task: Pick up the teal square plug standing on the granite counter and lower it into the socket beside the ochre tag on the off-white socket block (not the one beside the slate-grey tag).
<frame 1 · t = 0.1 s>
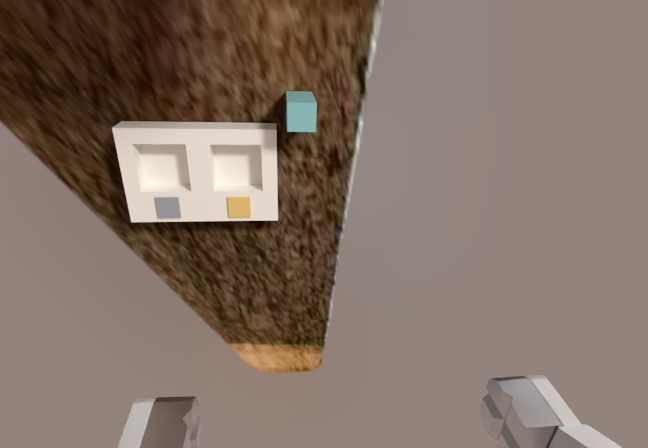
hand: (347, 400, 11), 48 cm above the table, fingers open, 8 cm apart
plug: (298, 104, 54), on the table
socket block: (205, 168, 57), on the table
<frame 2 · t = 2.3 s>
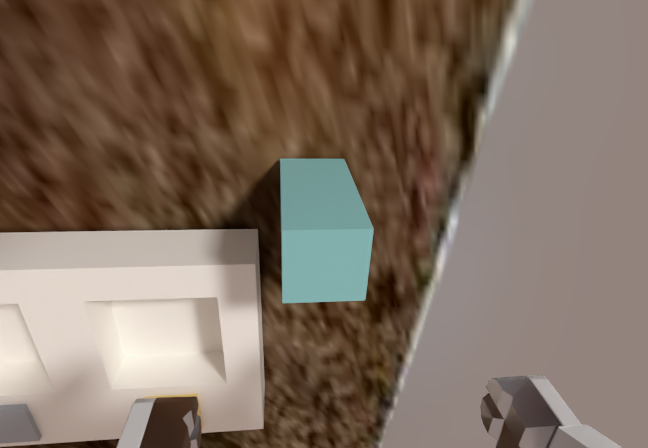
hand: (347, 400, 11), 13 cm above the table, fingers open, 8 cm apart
plug: (311, 188, 22), on the table
socket block: (98, 322, 25), on the table
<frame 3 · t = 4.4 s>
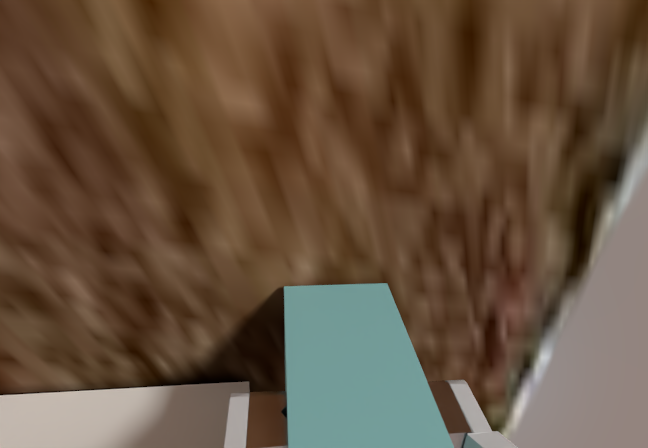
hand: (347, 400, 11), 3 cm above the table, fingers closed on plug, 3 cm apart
plug: (333, 324, 14), on the table, touching gripper
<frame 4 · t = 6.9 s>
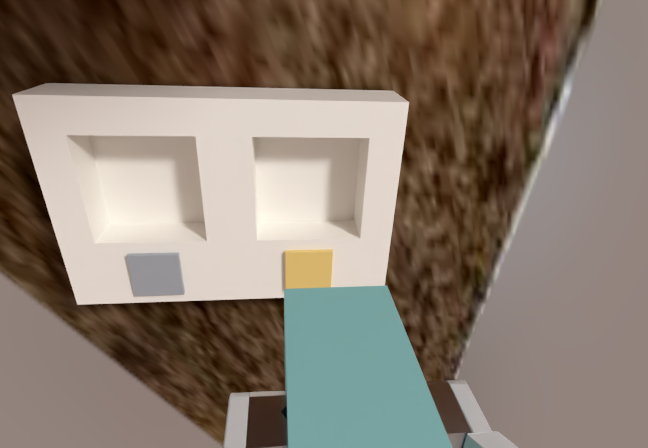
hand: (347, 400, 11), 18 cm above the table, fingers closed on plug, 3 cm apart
plug: (333, 327, 14), point 15 cm above the table, touching gripper
socket block: (235, 188, 27), on the table
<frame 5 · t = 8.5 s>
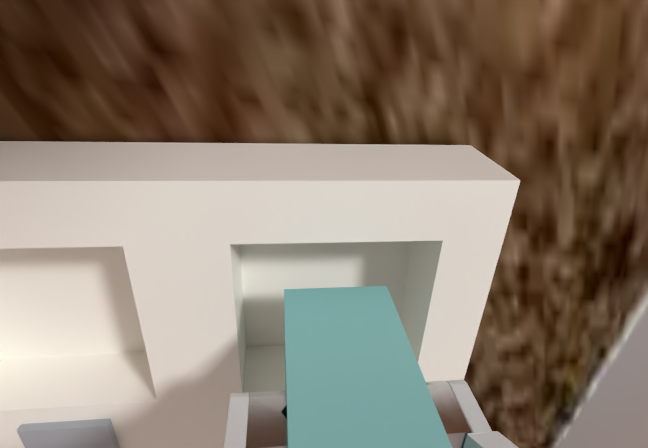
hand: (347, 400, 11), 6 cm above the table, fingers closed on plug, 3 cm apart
plug: (333, 327, 14), point 3 cm above the table, touching gripper
socket block: (209, 295, 17), on the table
when the fingers open (5 cm above the table, at t = 9.9 s): plug stays where it is, resting on socket block.
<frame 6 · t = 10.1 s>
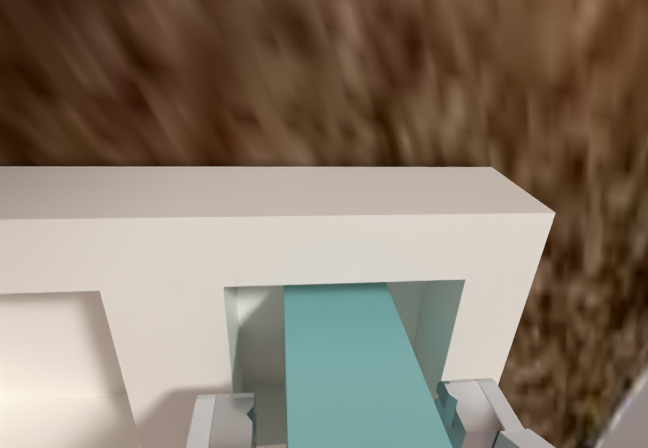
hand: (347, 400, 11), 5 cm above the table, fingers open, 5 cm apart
plug: (331, 317, 14), point 1 cm above the table, touching socket block
socket block: (202, 329, 15), on the table
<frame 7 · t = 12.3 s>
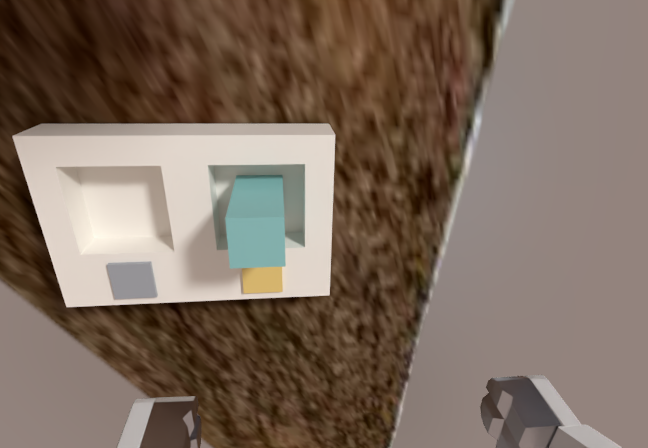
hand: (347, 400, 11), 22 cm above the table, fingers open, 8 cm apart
plug: (260, 196, 31), point 1 cm above the table, touching socket block
socket block: (200, 206, 32), on the table
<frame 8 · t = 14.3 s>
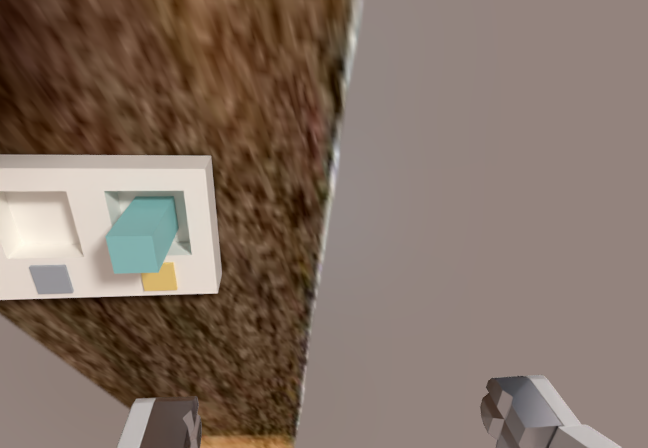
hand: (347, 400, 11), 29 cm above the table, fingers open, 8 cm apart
plug: (157, 212, 38), point 1 cm above the table, touching socket block
socket block: (111, 219, 39), on the table
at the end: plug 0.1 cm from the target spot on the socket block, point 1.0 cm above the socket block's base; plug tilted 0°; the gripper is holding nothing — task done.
